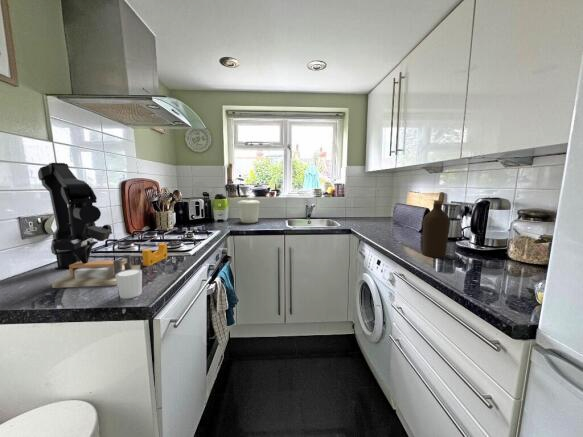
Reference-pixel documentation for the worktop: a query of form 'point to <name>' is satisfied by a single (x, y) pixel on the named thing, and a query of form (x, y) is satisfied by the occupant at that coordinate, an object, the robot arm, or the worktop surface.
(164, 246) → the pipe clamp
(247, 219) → the canister
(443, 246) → the olive oil
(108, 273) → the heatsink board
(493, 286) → the worktop surface
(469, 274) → the worktop surface
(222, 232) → the worktop surface
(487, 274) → the worktop surface
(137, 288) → the white cylinder
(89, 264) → the tan wooden bar
